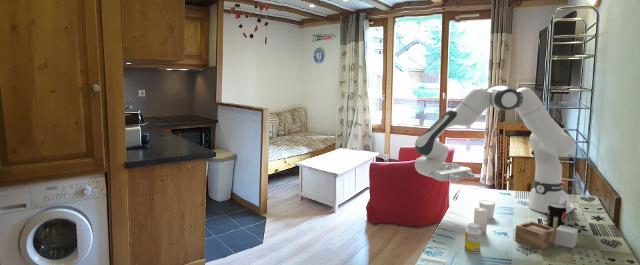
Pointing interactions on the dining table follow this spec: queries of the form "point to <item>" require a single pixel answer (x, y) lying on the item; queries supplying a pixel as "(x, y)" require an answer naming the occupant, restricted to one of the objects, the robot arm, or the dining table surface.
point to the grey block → (566, 236)
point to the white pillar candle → (481, 219)
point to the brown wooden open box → (535, 234)
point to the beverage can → (556, 215)
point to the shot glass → (488, 207)
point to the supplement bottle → (473, 238)
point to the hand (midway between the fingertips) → (466, 177)
